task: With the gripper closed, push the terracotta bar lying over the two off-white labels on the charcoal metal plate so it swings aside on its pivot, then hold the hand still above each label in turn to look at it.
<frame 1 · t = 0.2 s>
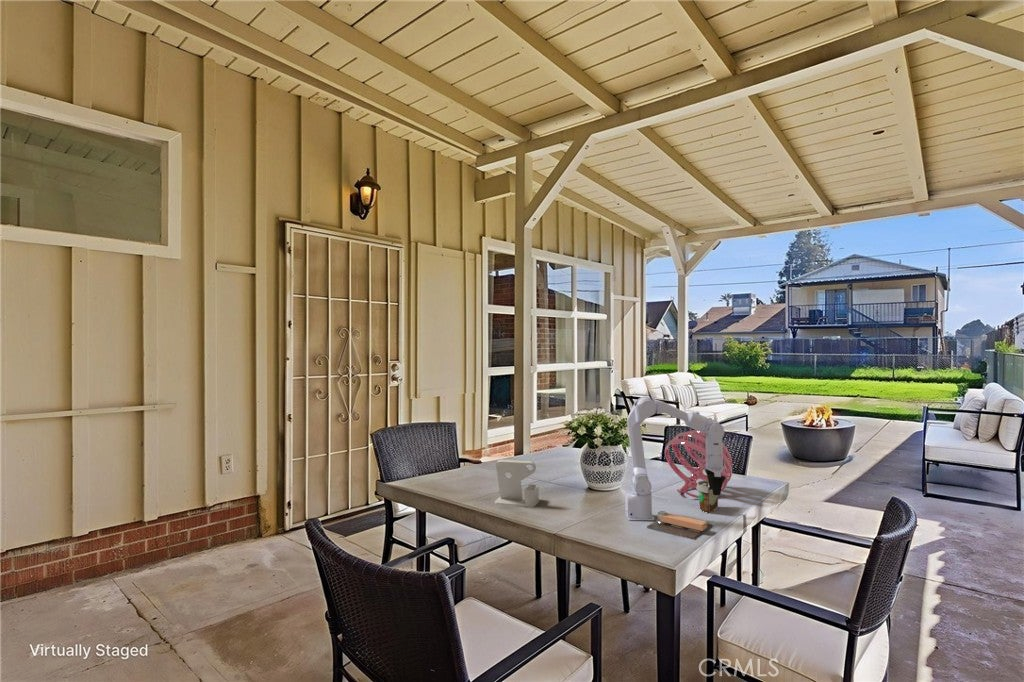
hand: (714, 492, 185), 10 cm above the table, tool pointing down, fingers open, 7 cm apart
food container: (705, 509, 197), on the table
label plate: (687, 528, 176), on the table
swing bar: (680, 520, 177), point 2 cm above the table, hinge at 0.0°
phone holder: (517, 502, 210), on the table
spiral basket: (700, 494, 216), on the table
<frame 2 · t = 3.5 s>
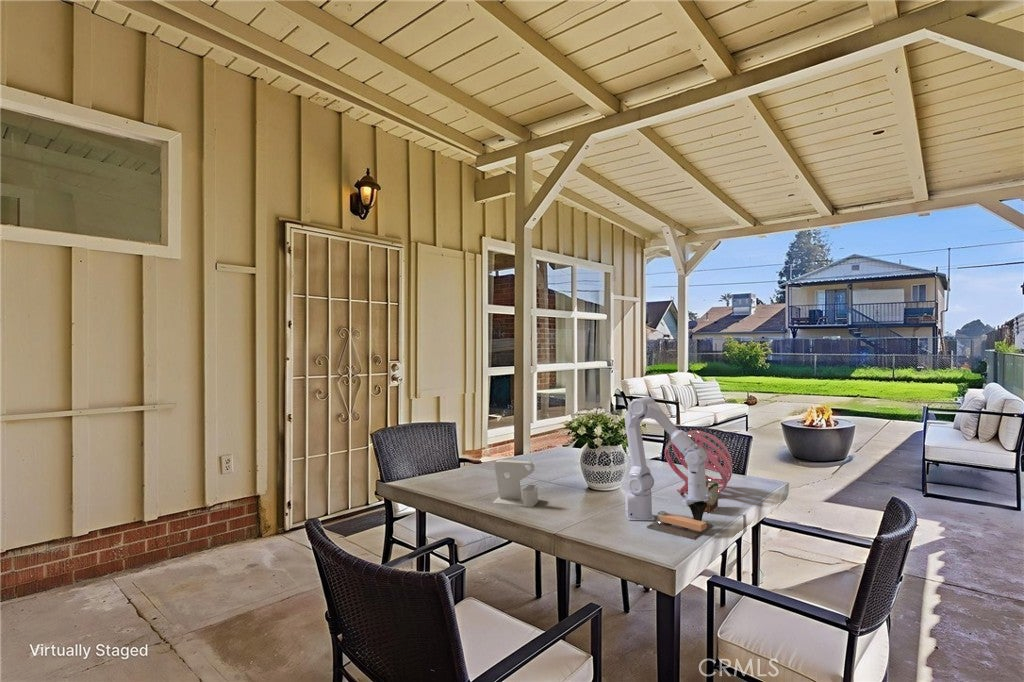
hand: (697, 523, 176), 2 cm above the table, tool pointing down, fingers closed
swing bar: (680, 520, 177), point 3 cm above the table, hinge at 2.7°, touching gripper
everything else where it was.
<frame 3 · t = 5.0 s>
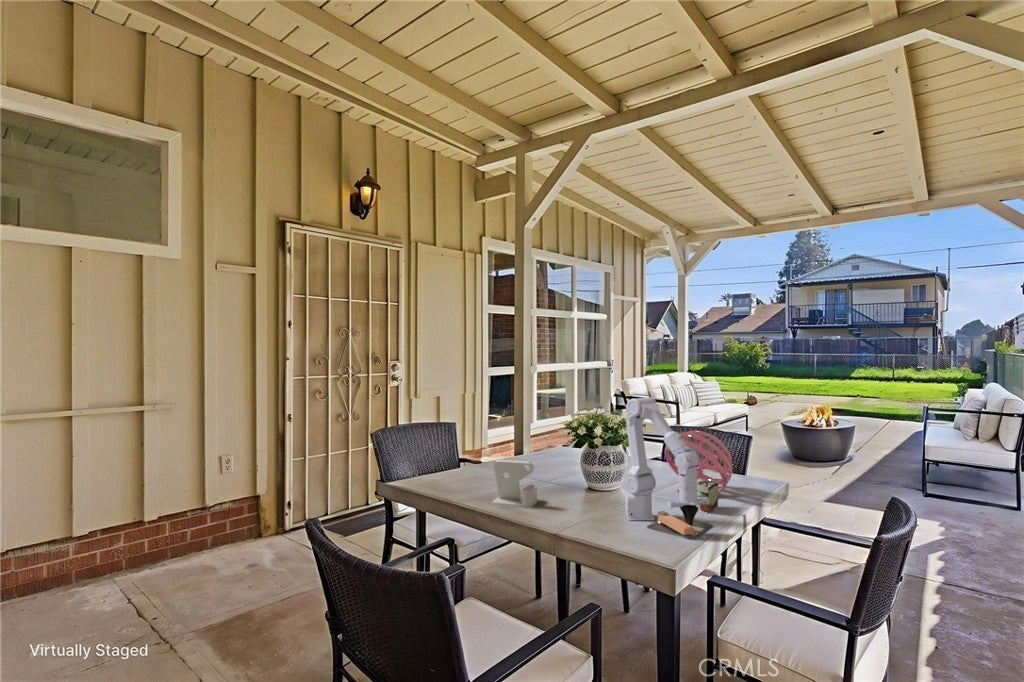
hand: (689, 527, 172), 2 cm above the table, tool pointing down, fingers closed, pressing on swing bar
swing bar: (673, 522, 176), point 2 cm above the table, hinge at 30.5°, touching gripper
everything else where it was.
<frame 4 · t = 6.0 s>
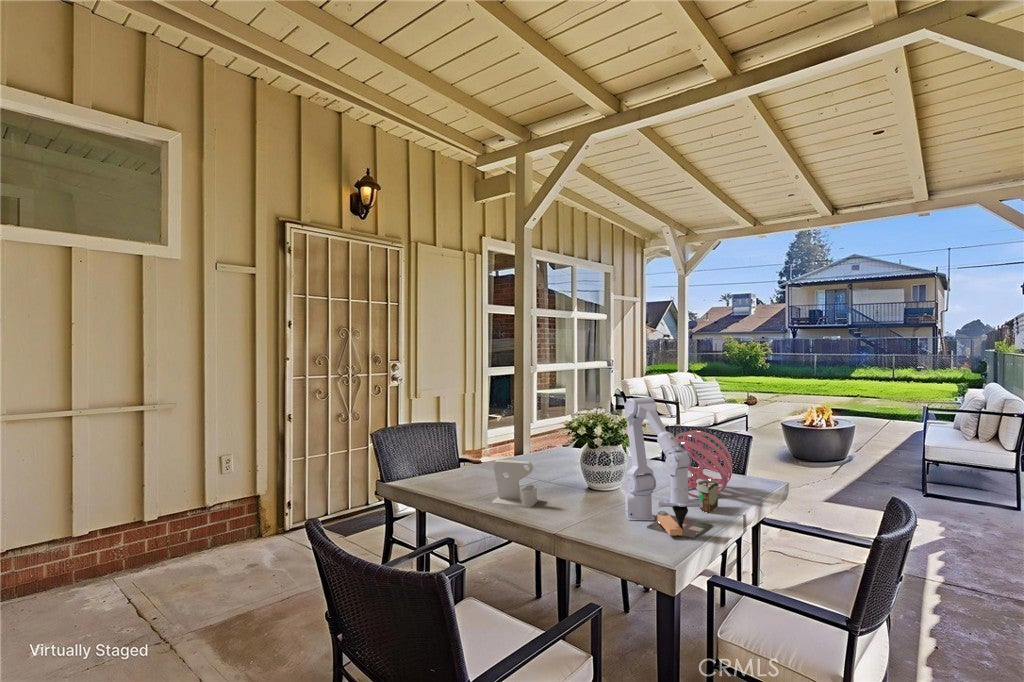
hand: (680, 528, 170), 2 cm above the table, tool pointing down, fingers closed, pressing on swing bar
swing bar: (668, 522, 175), point 2 cm above the table, hinge at 47.9°, touching gripper
everything else where it was.
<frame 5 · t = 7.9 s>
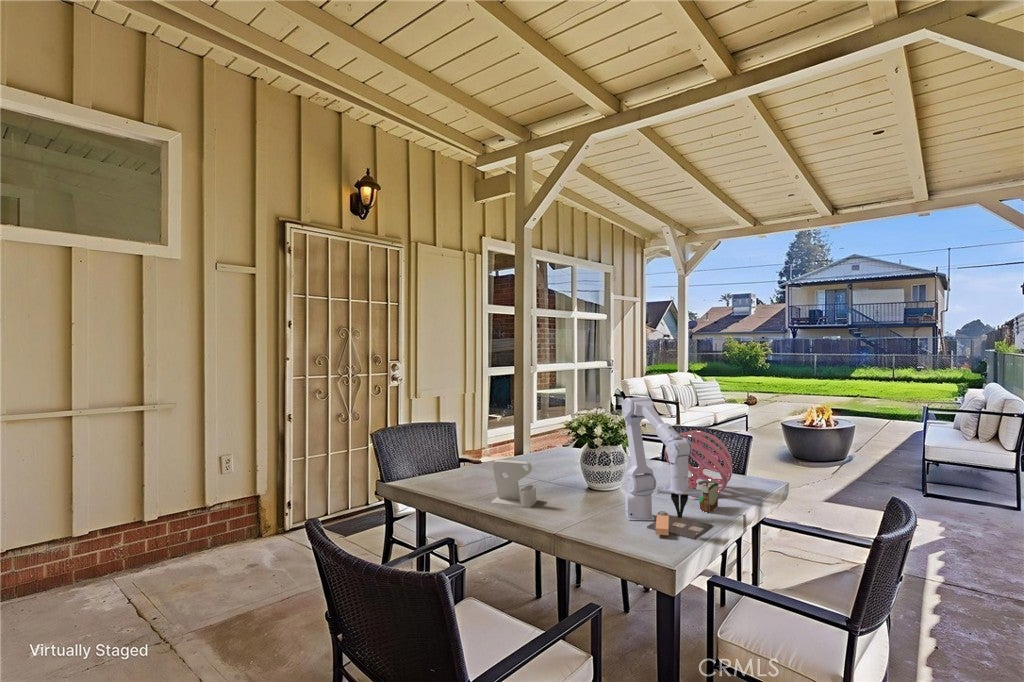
hand: (679, 516, 169), 6 cm above the table, tool pointing down, fingers closed
swing bar: (662, 522, 176), point 3 cm above the table, hinge at 64.8°
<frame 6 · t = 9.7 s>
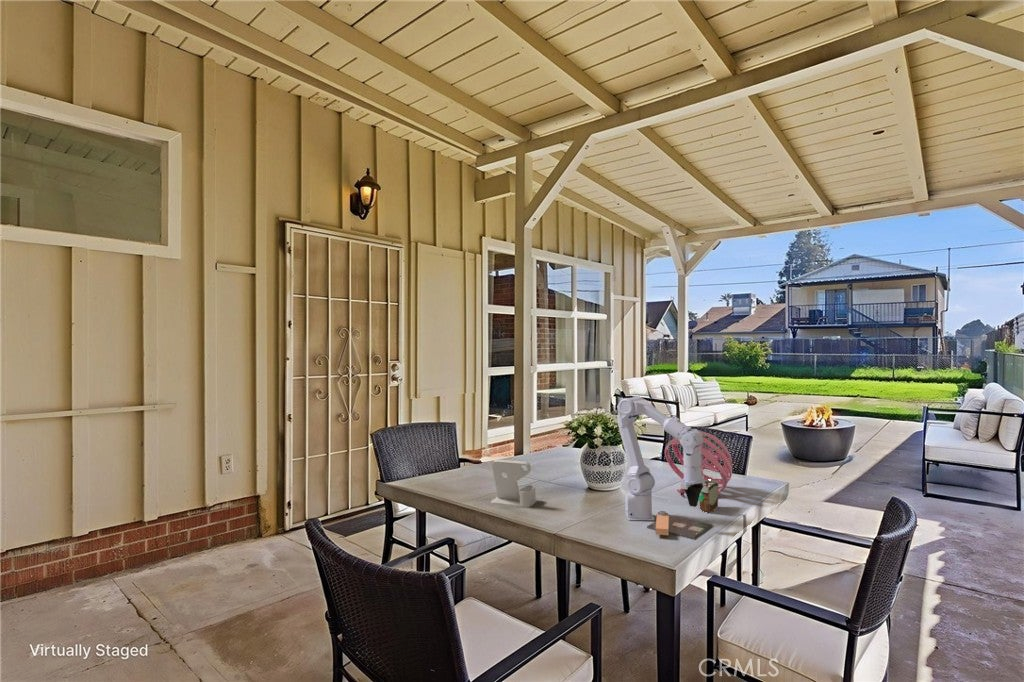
hand: (693, 505, 174), 8 cm above the table, tool pointing down, fingers closed
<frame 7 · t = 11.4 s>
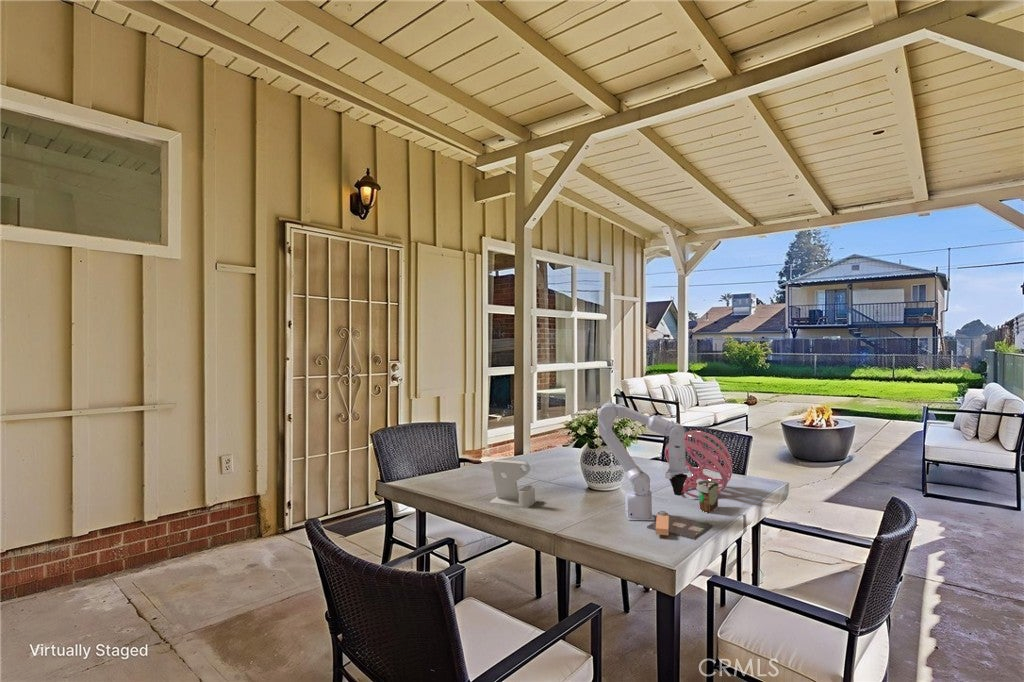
hand: (677, 494, 185), 9 cm above the table, tool pointing down, fingers closed
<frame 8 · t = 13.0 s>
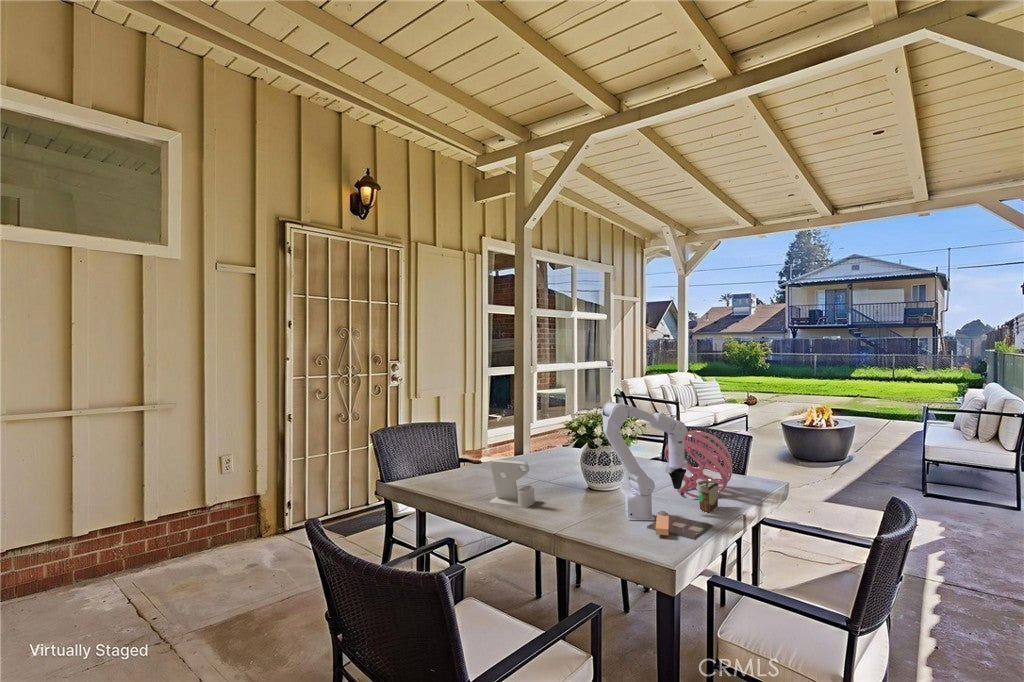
hand: (677, 488, 192), 9 cm above the table, tool pointing down, fingers closed
at the end: swing bar at +65° (first picture: +0°) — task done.
